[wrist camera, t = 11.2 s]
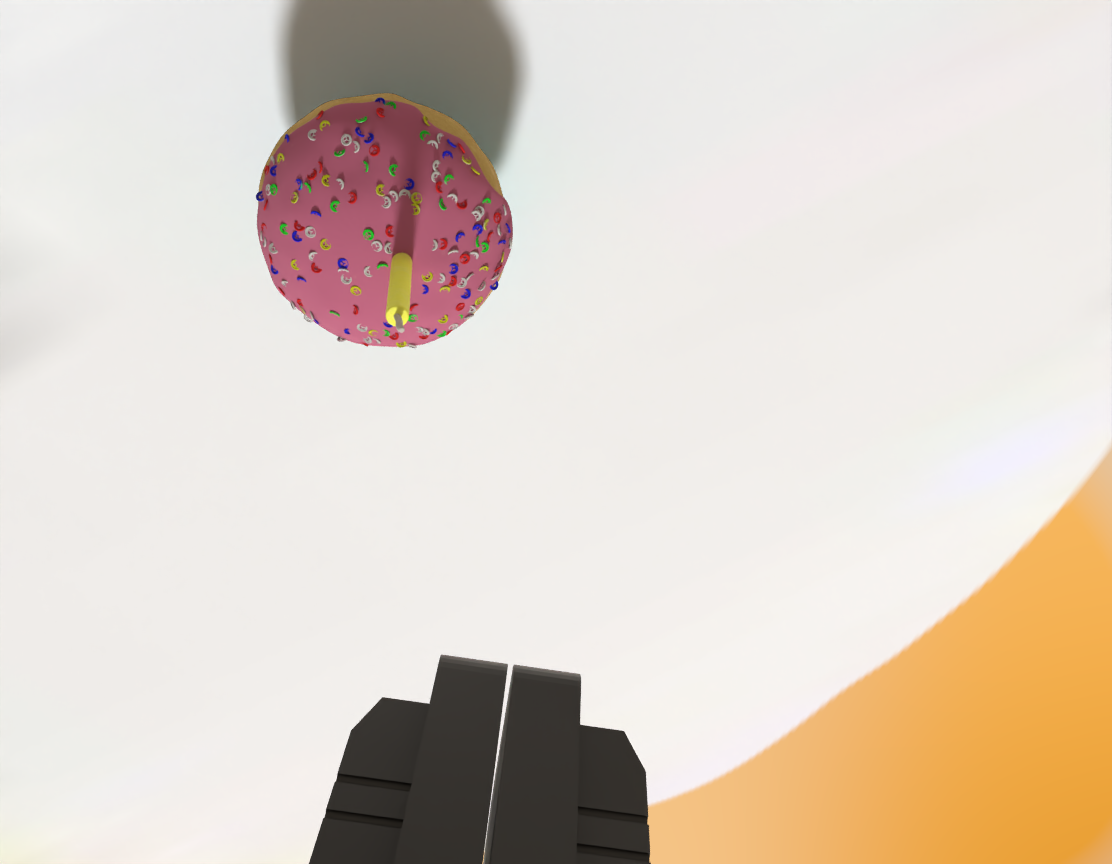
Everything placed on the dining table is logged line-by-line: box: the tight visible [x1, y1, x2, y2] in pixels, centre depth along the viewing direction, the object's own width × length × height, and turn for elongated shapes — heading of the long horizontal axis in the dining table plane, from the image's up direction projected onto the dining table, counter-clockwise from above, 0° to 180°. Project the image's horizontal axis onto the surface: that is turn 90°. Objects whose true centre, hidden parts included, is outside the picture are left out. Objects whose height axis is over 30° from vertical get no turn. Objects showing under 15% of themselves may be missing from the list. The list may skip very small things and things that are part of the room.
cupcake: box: [256, 93, 513, 348], centre depth 32 cm, size 9×8×12 cm
